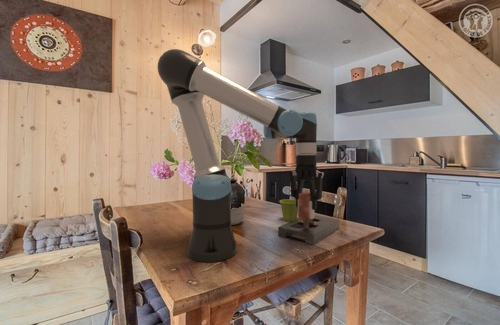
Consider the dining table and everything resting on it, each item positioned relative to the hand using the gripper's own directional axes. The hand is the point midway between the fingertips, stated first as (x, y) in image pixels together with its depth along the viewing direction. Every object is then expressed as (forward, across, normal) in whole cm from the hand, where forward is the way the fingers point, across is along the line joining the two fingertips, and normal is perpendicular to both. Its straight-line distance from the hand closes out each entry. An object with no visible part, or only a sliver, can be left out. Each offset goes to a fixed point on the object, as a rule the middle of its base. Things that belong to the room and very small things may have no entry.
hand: (306, 216), depth 91 cm
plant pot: (+7, +15, -14) cm, 22 cm away
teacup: (+7, +33, +5) cm, 34 cm away
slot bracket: (+7, 0, -4) cm, 8 cm away
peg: (+6, 0, 0) cm, 6 cm away
